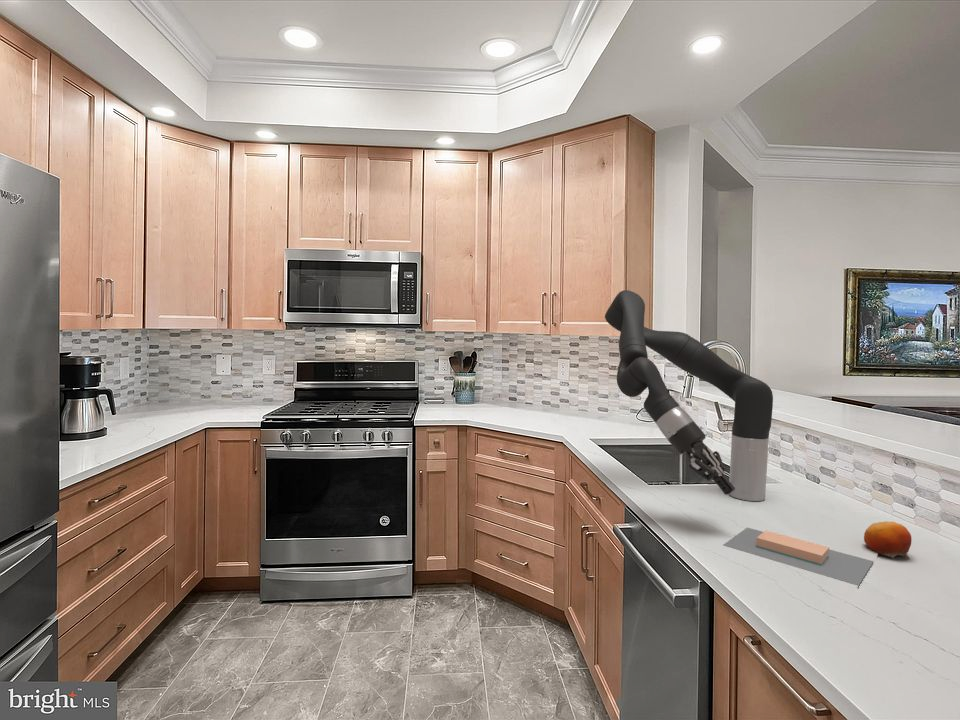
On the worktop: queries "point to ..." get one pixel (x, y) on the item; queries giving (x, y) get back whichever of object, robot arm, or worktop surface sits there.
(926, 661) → the worktop surface
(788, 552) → the tile
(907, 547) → the fruit
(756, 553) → the mat
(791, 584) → the worktop surface
